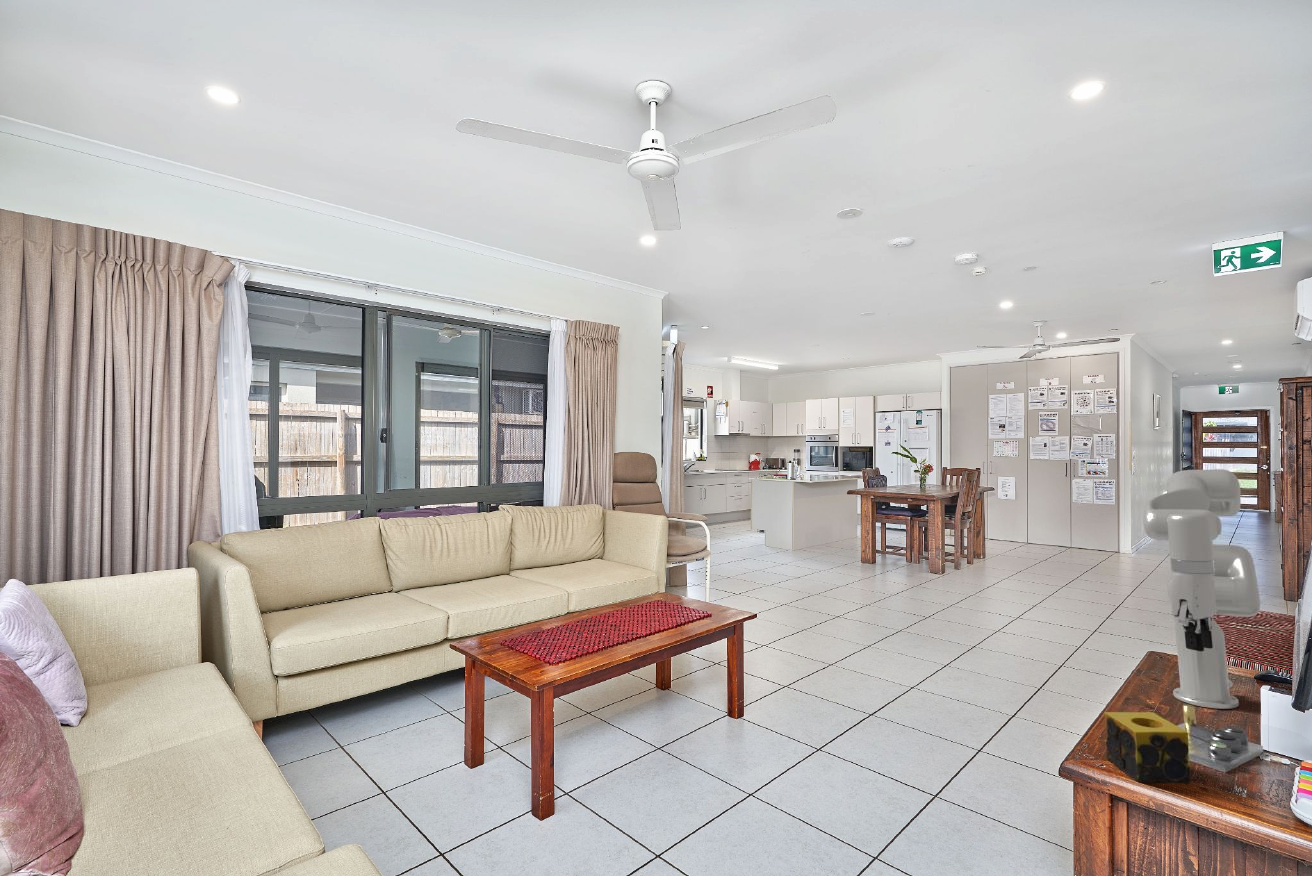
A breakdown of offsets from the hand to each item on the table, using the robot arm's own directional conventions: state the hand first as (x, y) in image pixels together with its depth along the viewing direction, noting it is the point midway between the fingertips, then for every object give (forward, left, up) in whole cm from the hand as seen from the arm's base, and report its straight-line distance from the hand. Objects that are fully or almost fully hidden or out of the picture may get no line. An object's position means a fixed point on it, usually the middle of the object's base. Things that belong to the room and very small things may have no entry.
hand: (1199, 647), depth 143 cm
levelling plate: (+10, +3, -19) cm, 22 cm away
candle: (+29, +2, -20) cm, 35 cm away
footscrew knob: (+8, +4, -18) cm, 20 cm away
